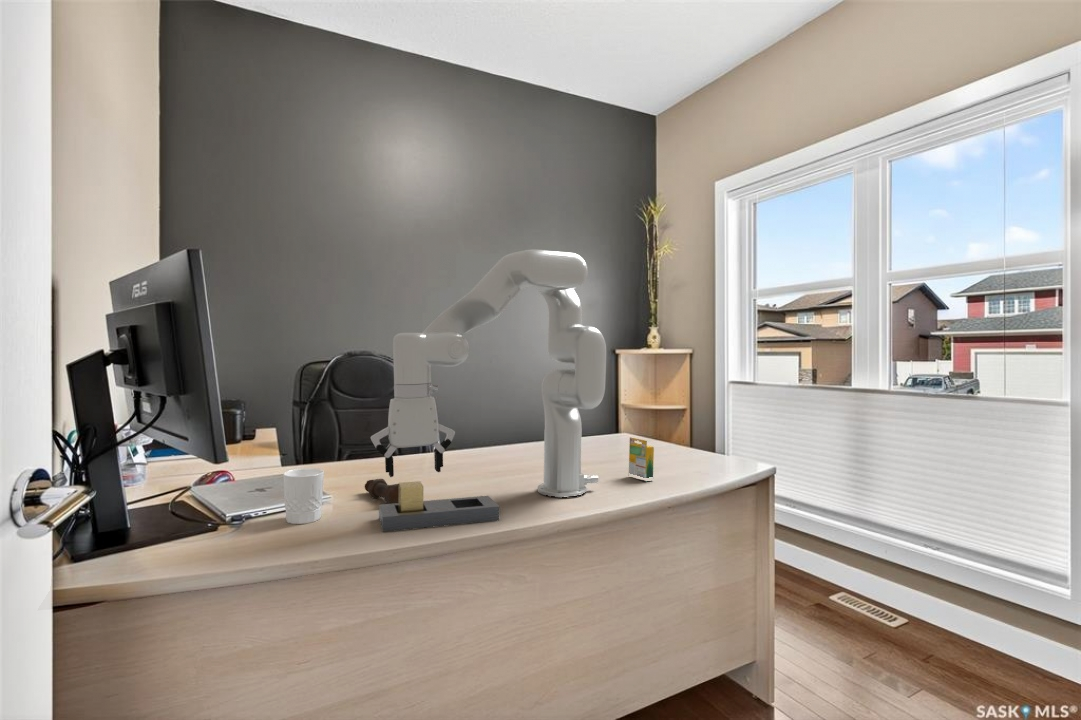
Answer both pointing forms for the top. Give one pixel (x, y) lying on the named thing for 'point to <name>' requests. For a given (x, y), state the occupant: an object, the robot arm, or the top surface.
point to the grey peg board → (440, 513)
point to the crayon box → (641, 458)
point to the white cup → (303, 495)
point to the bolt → (383, 490)
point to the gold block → (410, 497)
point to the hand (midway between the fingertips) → (414, 473)
